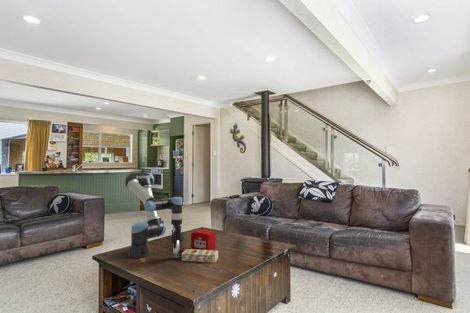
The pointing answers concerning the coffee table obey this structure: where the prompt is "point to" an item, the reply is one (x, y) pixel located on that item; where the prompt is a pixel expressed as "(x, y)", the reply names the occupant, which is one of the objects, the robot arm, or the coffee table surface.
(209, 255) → the bore block
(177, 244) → the pin
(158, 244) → the coffee table surface
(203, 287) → the coffee table surface
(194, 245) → the fire alarm
